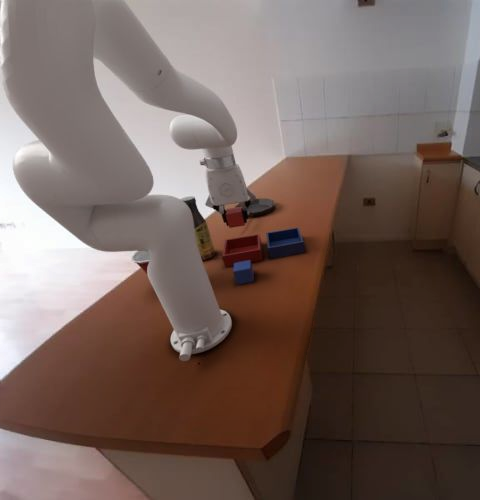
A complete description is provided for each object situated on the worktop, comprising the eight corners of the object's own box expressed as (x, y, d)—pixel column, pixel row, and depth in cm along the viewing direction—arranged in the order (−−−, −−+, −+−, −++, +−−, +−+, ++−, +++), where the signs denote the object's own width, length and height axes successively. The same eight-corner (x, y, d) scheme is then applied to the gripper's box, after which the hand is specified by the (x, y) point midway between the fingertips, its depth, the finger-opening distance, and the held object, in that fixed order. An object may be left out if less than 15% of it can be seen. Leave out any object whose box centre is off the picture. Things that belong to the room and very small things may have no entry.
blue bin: (305, 252, 90) (303, 241, 88) (270, 259, 87) (267, 248, 85) (299, 237, 99) (298, 227, 97) (268, 242, 97) (266, 232, 95)
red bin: (262, 260, 87) (260, 249, 85) (225, 267, 85) (222, 256, 83) (261, 244, 96) (259, 233, 94) (228, 249, 94) (225, 239, 92)
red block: (244, 225, 84) (241, 211, 81) (229, 228, 83) (225, 214, 81) (245, 219, 88) (241, 206, 85) (230, 222, 87) (226, 208, 84)
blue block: (253, 281, 78) (250, 268, 75) (237, 284, 77) (233, 271, 74) (253, 272, 81) (250, 259, 79) (237, 275, 80) (234, 262, 78)
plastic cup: (153, 279, 82) (136, 244, 76) (192, 271, 84) (178, 236, 78) (143, 302, 73) (123, 264, 67) (187, 292, 75) (171, 254, 69)
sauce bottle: (209, 261, 88) (188, 202, 78) (191, 260, 90) (169, 202, 80) (220, 251, 94) (202, 195, 84) (203, 250, 95) (184, 194, 85)
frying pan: (278, 202, 132) (277, 194, 130) (266, 232, 104) (264, 223, 102) (241, 204, 132) (239, 197, 130) (219, 235, 104) (216, 226, 103)
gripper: (185, 169, 71) (206, 232, 80) (252, 161, 74) (265, 223, 83) (190, 163, 77) (209, 222, 87) (252, 155, 80) (264, 213, 90)
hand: (237, 222), depth 85 cm, fingers closed on red block, 4 cm apart
